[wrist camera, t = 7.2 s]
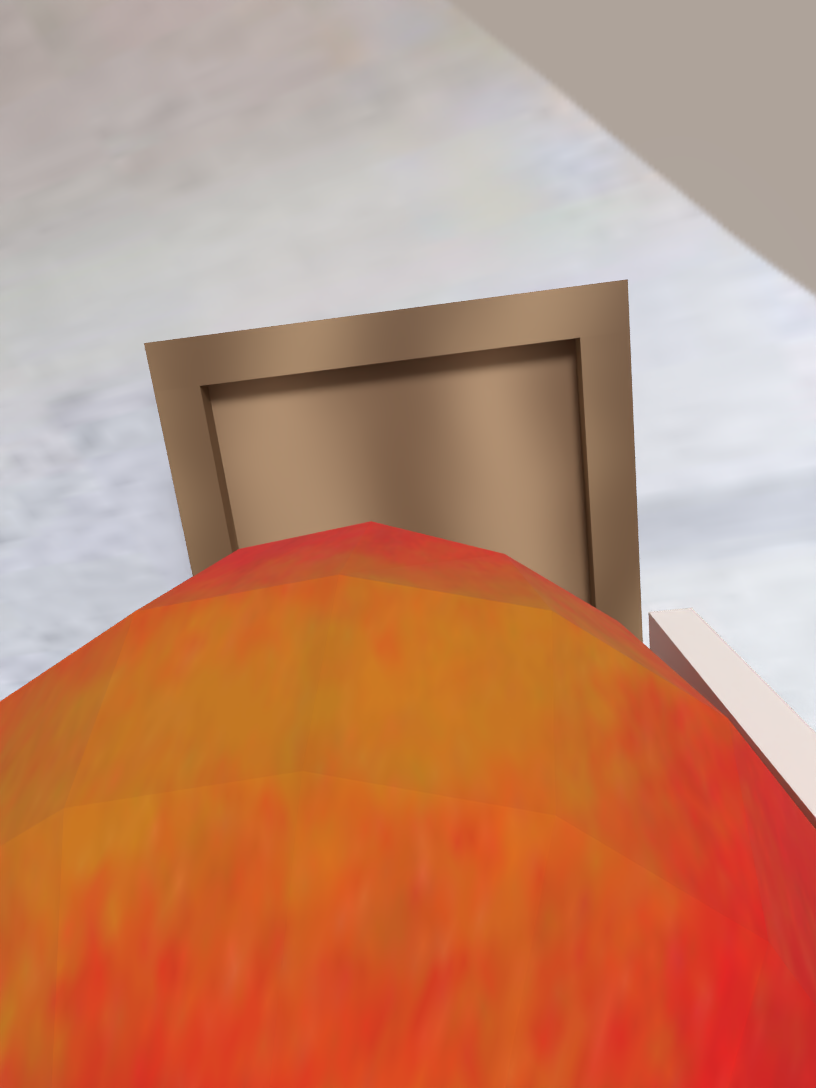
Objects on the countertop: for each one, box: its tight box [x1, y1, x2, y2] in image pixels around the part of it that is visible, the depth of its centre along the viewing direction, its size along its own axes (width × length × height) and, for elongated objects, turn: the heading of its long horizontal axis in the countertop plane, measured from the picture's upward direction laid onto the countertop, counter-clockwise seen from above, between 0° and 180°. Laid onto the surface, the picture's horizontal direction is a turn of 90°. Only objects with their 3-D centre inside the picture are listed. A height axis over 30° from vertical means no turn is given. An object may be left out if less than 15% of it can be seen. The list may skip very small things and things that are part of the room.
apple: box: [0, 521, 816, 1088], centre depth 8 cm, size 9×9×12 cm
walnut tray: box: [144, 279, 643, 643], centre depth 27 cm, size 15×15×7 cm
